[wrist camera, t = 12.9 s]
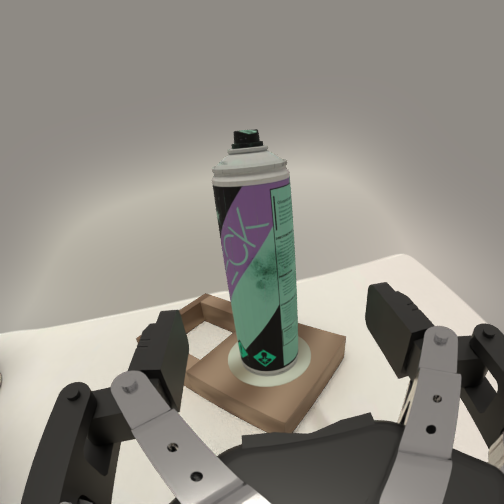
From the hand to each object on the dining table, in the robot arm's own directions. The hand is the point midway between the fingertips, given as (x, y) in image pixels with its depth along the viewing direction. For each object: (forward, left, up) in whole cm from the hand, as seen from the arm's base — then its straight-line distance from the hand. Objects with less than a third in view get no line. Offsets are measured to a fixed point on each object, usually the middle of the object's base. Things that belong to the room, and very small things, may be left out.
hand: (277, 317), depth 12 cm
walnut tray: (-12, +9, -15) cm, 21 cm away
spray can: (-7, +8, -13) cm, 17 cm away
